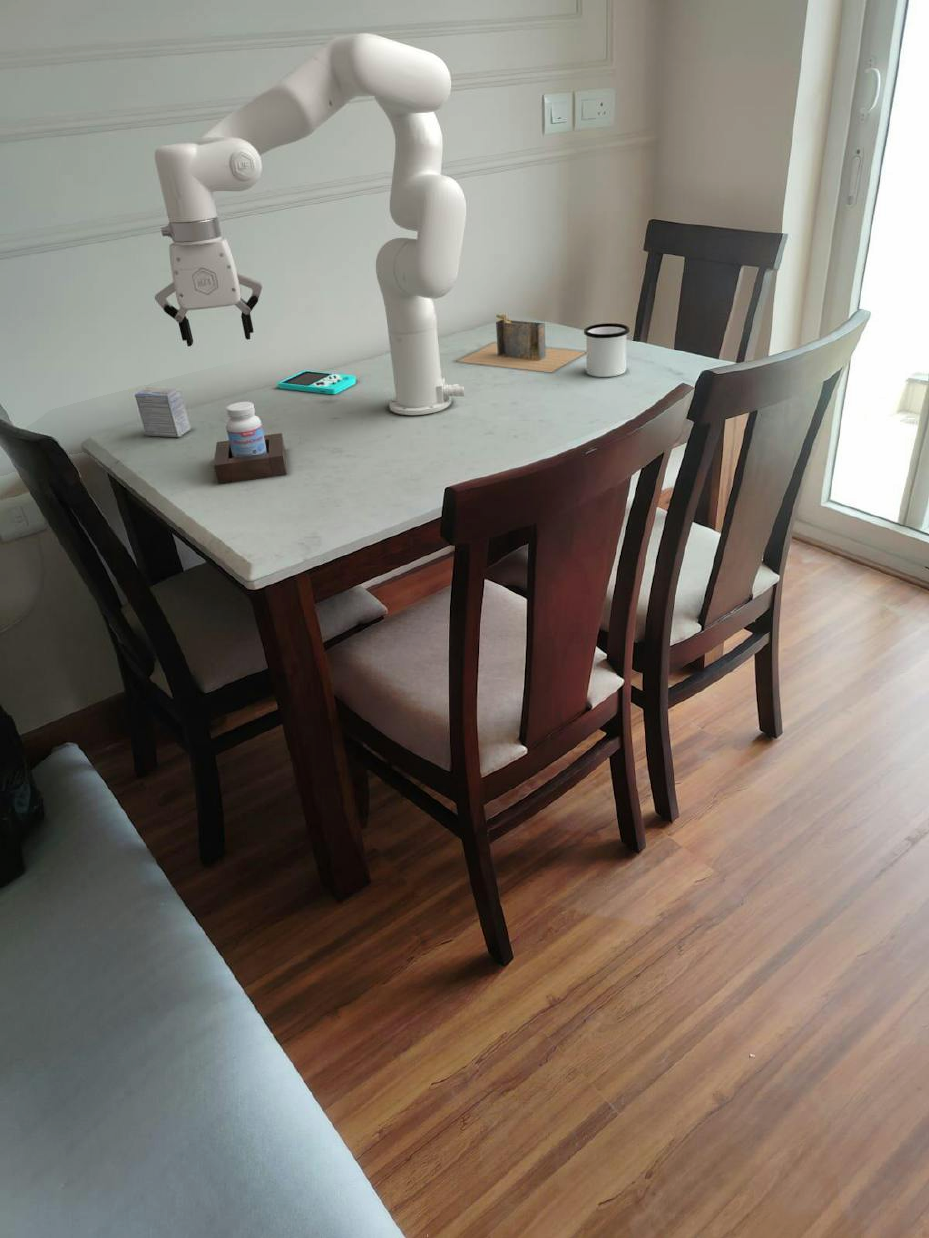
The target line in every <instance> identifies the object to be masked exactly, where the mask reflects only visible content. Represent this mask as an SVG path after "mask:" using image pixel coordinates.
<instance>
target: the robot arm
mask: <svg viewBox="0 0 929 1238" xmlns="http://www.w3.org/2000/svg"><path fill="white" fill-rule="evenodd" d="M451 90H452V77H451V73H450V71H449V69H448V67H447V65H446V63H445V62H444V61H443V60H442V58H440V57H439V56H438V55H437V54H435V53H432V52H430V51H427V50H425V49H422V48H418V47H415V46H412V45H409V44H405V43H402V42H399V41H396V40H394V39H390V38H387V37H384V36H382V35H381V36H380V35H378V34H374V33H368V32H362V33H353V34H348V35H341V36H338V37H335V38H332V39H330V40H329V41H327V42H326V43H324V44H323V45H322V46H321V47H319V48H318V49H317V50H316V51H315V52H314V53H312V54H311V55H310V56H309V57H307V59H305V60H303V62H302V63H300V64H299V65H298V66H297V67H295V68H294V69H293V70H292V71H291V72H289V73H288V74H287V75H286V76H284V77H283V78H281V80H279V81H278V82H277V83H275V84H274V85H273V86H272V87H270V88H268V89H266V90H264V91H263V92H261V93H260V94H258V95H257V96H256V97H254V98H253V99H251V100H250V101H248V102H247V103H245V104H244V105H242V106H240V107H239V108H237V109H236V110H234V111H233V112H231V113H230V114H228V115H227V116H226V117H224V118H223V119H222V120H220V121H219V122H218V123H217V124H215V125H214V126H213V127H212V128H211V129H209V130H208V131H207V132H206V133H205V134H204V135H202V136H201V137H199V139H198V140H197V141H196V142H194V143H192V142H184V143H173V144H164V145H161V146H159V147H157V148H156V150H155V151H154V161H155V167H156V171H157V175H158V180H159V184H160V189H161V192H162V197H163V198H162V199H163V201H164V206H165V210H166V215H167V219H168V224H167V225H165V226H162V227H160V231H161V235H162V237H169V238H170V239H172V242H171V243H170V244H168V249H169V250H168V253H169V263H170V269H171V277H172V282H171V283H170V284H168V285H167V286H165V287H164V288H162V289H161V290H160V291H158V292H157V293H156V294H155V295H154V300H155V301H156V302H157V303H158V305H159V306H160V308H162V310H163V312H164V313H165V314H167V315H168V316H170V317H171V318H173V319H174V320H175V321H176V322H177V323H178V327H179V332H180V335H181V336H180V337H181V340H182V341H184V342H186V345H187V347H192V346H193V344H194V339H193V333H192V329H191V326H190V321H189V318H187V316H186V315H187V313H188V311H195V310H196V311H197V310H205V309H207V310H208V309H215V308H224V307H225V308H226V307H231V306H235V307H236V308H238V309H239V311H241V316H240V318H241V323H242V327H243V334H244V337H245V340H247V341H248V340H251V334H252V333H254V326H253V320H252V316H251V313H252V311H253V309H254V308H255V306H256V305H257V304H258V302H259V299H260V296H261V292H262V289H263V284H262V283H261V281H260V282H259V281H257V280H254V279H252V278H249V277H246V276H245V275H241V274H239V273H238V270H237V267H236V264H235V259H234V257H233V254H232V250H231V248H230V245H229V242H228V239H227V237H223V236H222V232H221V226H220V222H219V217H218V212H217V207H216V203H215V196H214V192H243V191H247V190H249V189H251V188H253V187H254V186H255V185H256V184H257V183H258V181H259V180H260V178H261V175H262V171H263V164H262V163H263V162H262V158H261V156H262V155H264V154H266V153H267V152H269V151H272V150H274V149H276V148H279V147H282V146H286V145H289V144H292V143H296V142H298V141H300V140H302V139H305V138H307V137H308V136H310V135H312V134H313V133H314V132H315V131H316V130H317V129H319V128H320V127H321V126H322V125H324V123H326V122H327V121H328V120H329V119H330V118H332V117H333V116H334V115H335V114H336V113H337V112H339V111H340V110H341V109H342V108H344V106H346V105H347V104H349V103H350V102H351V101H352V100H353V99H355V98H357V97H368V96H371V97H374V99H375V101H376V103H377V105H378V106H379V107H380V109H382V111H383V113H384V114H385V115H386V117H387V119H388V121H389V123H390V125H391V127H392V130H393V135H394V146H395V147H394V161H393V169H392V178H391V187H390V195H389V214H390V216H391V220H392V221H393V222H394V223H395V225H397V226H398V227H399V228H401V229H405V230H407V231H411V232H412V231H413V232H417V235H416V238H409V237H396V238H393V239H392V238H391V239H390V240H388V241H387V242H385V243H384V244H383V245H382V246H381V247H380V249H379V250H378V253H377V255H376V259H375V273H376V278H377V282H378V286H379V289H380V292H381V297H382V300H383V304H384V310H385V318H386V324H387V334H388V341H389V350H390V357H391V358H390V359H391V367H392V376H393V384H394V393H395V396H394V397H392V398H391V399H390V400H389V402H388V405H389V409H390V411H391V412H393V413H395V414H398V415H402V416H423V415H429V414H434V413H438V412H441V411H443V410H446V409H447V408H448V407H450V406H451V404H452V397H465V393H466V391H465V390H466V389H465V386H460V383H456V384H455V383H454V384H448V383H446V381H445V377H442V371H441V369H442V368H441V360H440V359H441V358H440V348H439V347H440V346H439V338H438V337H439V335H438V327H437V326H438V322H437V314H436V309H435V308H436V307H435V304H434V301H433V300H435V299H440V298H443V297H445V296H446V295H448V294H449V293H450V291H452V289H453V287H454V285H455V283H456V281H457V279H458V275H459V269H460V263H461V257H462V250H463V242H464V236H465V229H466V222H467V201H466V198H465V195H464V191H463V189H462V188H461V186H460V184H459V183H458V182H457V181H456V180H455V179H453V178H452V177H450V176H449V175H444V174H442V163H443V153H444V152H443V151H444V150H443V149H444V141H443V133H442V129H441V126H440V123H439V120H438V118H437V116H436V113H435V112H436V111H438V110H440V109H442V108H443V106H444V105H445V104H446V103H447V101H448V99H449V97H450V95H451ZM241 286H242V287H246V288H248V289H251V291H252V292H251V296H249V299H248V300H247V301H246V300H245V299H244V298H243V297H242V289H241ZM173 293H175V297H176V301H177V304H178V306H179V308H176V307H174V306H173V305H172V304H170V302H169V301H168V299H167V298H168V297H170V296H171V295H172V294H173Z"/></svg>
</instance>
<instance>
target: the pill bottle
mask: <svg viewBox="0 0 929 1238" xmlns="http://www.w3.org/2000/svg"><path fill="white" fill-rule="evenodd" d="M226 413H227V416H228V418H229V419H228V420H227V421H226V425H225V427H226V433H227V438H228V440H229V442H230V446H231V451H232V456H233V458H236V457H244V456H251V455H258V454H265V453H267V449H266V444H265V439H264V435H265V433H264V429H263V425H262V420H261V419H260V417H259V416H257V415H255V413H256V410H255V405H254V403H253V402H252V401H251V402H250V401H239V402H234V403H230V404H229V405H227V406H226Z"/></svg>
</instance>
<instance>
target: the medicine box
mask: <svg viewBox="0 0 929 1238" xmlns="http://www.w3.org/2000/svg"><path fill="white" fill-rule="evenodd" d="M134 398H135V400H136V404H137V405H136V406H137V408H138V411H139V415H140V418H141V422H142V425H143V429H144V432H145V435H146V436H147V437H165V438H166V437H167V438H180V437H183V436H184V435H185V434H187V433H188V432H189V431H191V429H192V427H191V425H190V421H189V417H188V414H187V410H186V407H185V403H184V399H183V396H182V391H181V389H180V388H179V387H177V388H176V387H175V388H173V387H146V388H144V389H142V390H139V392H136V394H134Z"/></svg>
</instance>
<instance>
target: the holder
mask: <svg viewBox="0 0 929 1238" xmlns="http://www.w3.org/2000/svg"><path fill="white" fill-rule="evenodd" d="M264 439H265V444H266V449H267V453H265V454H258V455H251V456H244V457H236V458H233V456H232V451H231V446H230V442H229V439H228V440H222V441H216V445H215V451H214V452H215V453H214V459H213V469H214V470H213V471H214V474H215V478H216V483H217V485H223V484H230V483H236V482H244V481H250V480H258V479H264V478H265V479H266V478H273V477H278V476H279V477H280V476H286V475H287V474H288V473H287V457H286V447H285V441H284V437H283V432H280V433H272V434H271V433H270V434H264Z"/></svg>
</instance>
